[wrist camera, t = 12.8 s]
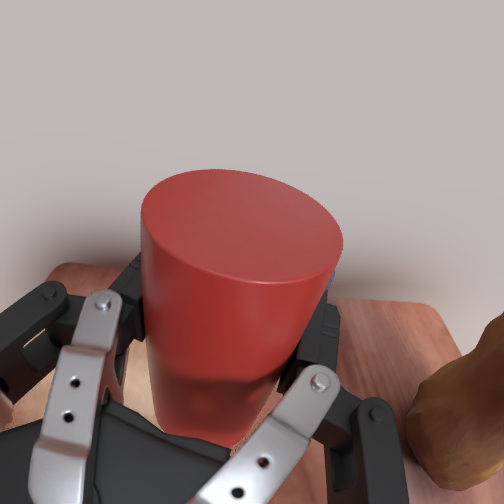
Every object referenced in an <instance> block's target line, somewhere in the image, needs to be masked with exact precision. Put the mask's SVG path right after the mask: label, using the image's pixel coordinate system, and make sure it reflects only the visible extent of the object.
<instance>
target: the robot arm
mask: <svg viewBox="0 0 504 504" xmlns="http://www.w3.org/2000/svg"><path fill="white" fill-rule="evenodd" d="M327 292H328V290H327V289H325V291H324V293H323V295H322V297H321V299H320V301H319V303H318V305H317V307H316V309H315V311H314V313H313V315H312V317H311V319H310V321H309V323H308V325H307V327H306V329H305V331H304V333H303V335H302V337H301V339H300V341H299V342H298V344H297V346H296V348H295V350H294V352H293V354H292V356H291V358H290V359H289V361H288V363H287V365H286V367H285V369H284V370H283V372H282V374H281V376H280V380H279V384H278V388H277V392H278V393H282V394H283V397H282V398H281V400H280V401H279V402H278V404H277V405H276V406H275V407H274V409H273V410H272V411H271V412H270V413H269V414H268V415H267V416H266V417H265V418H264V419H263V421H262V422H261V423H260V424H259V425H258V427H257V428H256V429H255V430H254V431H253V432H252V434H251V435H250V436H249V437H248V438H247V439H246V441H245V442H244V443H243V444H242V445H241V446H240V447H239V449H238V450H237V451H236V452H235V453H234V454H233V455H232V456H230V452H231V449H229V448H226V447H223V446H220V445H217V444H214V443H211V442H208V441H206V440H203V439H200V438H192V437H185V436H178V435H172V434H167V433H164V432H163V431H161V430H160V429H158V428H157V427H156V426H154V425H153V424H152V423H151V422H149V421H148V420H147V419H145V418H144V417H143V416H142V415H140V414H139V413H138V412H136V411H134V410H131V409H129V408H127V407H125V406H124V398H123V389H124V382H125V375H126V368H127V362H128V355H129V345H130V344H131V342H132V341H133V339H136V340H138V341H140V342H143V340H144V339H145V325H144V312H143V296H142V275H141V252H140V253H139V254H138V255H137V257H136V258H135V260H133V261H132V262H131V263H130V264H129V266H128V267H126V269H125V270H124V271H123V272H122V273H121V274H120V275H119V276H118V278H117V279H116V280H115V281H114V282H113V283H112V284H111V286H110V287H109V288H108V289H100V290H96V291H94V292H92V293H91V294H89V295H88V296H87V297H83V296H76V295H70V294H67V291H66V288H65V286H64V285H63V284H62V283H60V282H57V281H48V282H45V283H42V284H41V285H39V286H38V287H36V288H35V289H33V290H32V291H31V292H29V293H28V294H26V295H25V296H24V297H22V298H21V299H19V300H18V301H17V302H15V303H14V304H13V305H11V306H10V307H9V308H7V309H6V310H4V311H3V312H2V313H0V504H266V503H267V502H268V501H269V500H270V498H271V497H272V496H273V494H274V493H275V492H276V491H277V489H278V488H279V487H280V485H281V484H282V483H283V481H284V480H285V479H286V477H287V476H288V475H289V473H290V472H291V471H292V469H293V468H294V466H295V465H296V464H297V462H298V461H299V459H300V458H301V456H302V455H303V453H304V452H305V451H306V449H307V447H308V446H309V444H310V442H311V440H310V439H311V438H313V439H315V440H316V441H318V442H320V443H322V444H323V445H324V454H325V468H326V483H327V501H328V504H409V497H408V490H407V483H406V476H405V470H404V464H403V458H402V452H401V447H400V441H399V436H398V431H397V426H396V421H395V417H394V413H393V410H392V408H391V407H390V405H389V404H388V403H387V402H386V401H384V400H382V399H380V398H377V397H370V398H367V399H365V400H363V401H362V400H361V399H359V398H357V397H355V396H354V395H352V394H350V393H349V392H347V391H346V390H345V389H344V388H343V387H342V386H341V384H340V381H339V378H338V377H337V375H336V365H337V355H338V344H339V339H338V338H339V331H340V330H339V328H340V315H339V312H338V310H337V307H336V306H334V305H330V304H327ZM44 328H45V331H44V332H43V333H41V334H40V335H39V336H38V337H36V338H35V339H34V340H33V341H31V342H30V343H29V344H28V345H26V346H25V347H24V348H23V346H24V345H25V344H26V343H27V342H28V341H29V340H31V339H32V338H33V337H34V336H36V335H37V334H38V333H39V332H41V331H42V330H43V329H44ZM22 348H23V349H22ZM55 367H56V369H55V373H54V376H53V380H52V384H51V388H50V392H49V396H48V400H47V404H46V409H45V413H44V418H42V419H39V420H37V421H34V422H31V423H28V424H25V425H22V426H19V427H15V428H12V429H9V430H6V431H4V428H5V425H6V424H9V423H11V422H12V420H13V414H12V413H13V405H14V404H15V403H16V402H17V401H18V400H20V399H21V398H22V397H23V396H24V395H25V394H26V393H27V392H28V391H30V390H31V389H32V388H33V387H34V386H35V385H36V384H37V383H38V382H40V381H41V380H42V379H43V378H44V377H45V376H46V375H47V374H49V373H50V372H51V371H52V370H53V369H54V368H55Z"/></svg>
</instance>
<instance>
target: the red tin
mask: <svg viewBox="0 0 504 504" xmlns="http://www.w3.org/2000/svg"><path fill="white" fill-rule="evenodd" d="M342 250H343V237H342V233H341V230H340V227H339V225H338V224H337V222H336V221H335V219H334V218H333V217H332V215H331V214H330V213H329V212H328V211H327V210H326V209H325V208H324V207H323V206H322V205H321V204H319V203H318V202H317V201H316V200H314V199H313V198H311V197H310V196H308V195H307V194H305V193H303V192H302V191H300V190H298V189H296V188H294V187H292V186H289V185H287V184H285V183H282V182H280V181H277V180H274V179H271V178H268V177H265V176H261V175H257V174H253V173H248V172H242V171H235V170H223V169H209V170H196V171H190V172H184V173H181V174H177V175H174V176H172V177H169V178H167V179H165V180H163V181H161V182H159V183H158V184H157V185H155V186H154V187H153V188H152V189H151V190H150V191H149V192H148V193H147V195H146V196H145V198H144V200H143V203H142V207H141V275H142V296H143V312H144V325H145V337H146V348H147V357H148V366H149V375H150V383H151V390H152V397H153V404H154V410H155V415H156V418H157V421H158V423H159V425H160V426H161V428H162V429H163V431H164V432H165V433H167V434H172V435H178V436H185V437H192V438H200V439H203V440H206V441H208V442H211V443H214V444H217V445H220V446H223V447H226V448H228V447H231V446H232V445H234V444H236V443H237V442H239V441H240V440H241V439H242V438H243V437H244V436H245V435H246V434H247V432H248V431H249V429H250V428H251V426H252V424H253V423H254V421H255V419H256V418H257V416H258V414H259V413H260V411H261V409H262V407H263V406H264V404H265V402H266V401H267V399H268V397H269V395H270V394H271V392H272V390H273V388H274V387H275V385H276V383H277V381H278V379H279V378H280V376H281V374H282V372H283V370H284V369H285V367H286V365H287V363H288V361H289V359H290V358H291V356H292V354H293V352H294V350H295V348H296V346H297V344H298V342H299V341H300V339H301V337H302V335H303V333H304V331H305V329H306V327H307V325H308V323H309V321H310V319H311V317H312V315H313V313H314V311H315V309H316V307H317V305H318V303H319V301H320V299H321V297H322V295H323V293H324V291H325V289H326V286H327V284H328V282H329V280H330V278H331V276H332V274H333V271H334V269H335V267H336V265H337V263H338V261H339V258H340V256H341V253H342Z"/></svg>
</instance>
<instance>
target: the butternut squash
mask: <svg viewBox="0 0 504 504" xmlns="http://www.w3.org/2000/svg"><path fill="white" fill-rule="evenodd" d="M405 433H406V437H407V440H408V442H409V444H410V447H411V449H412V451H413V453H414V455H415V457H416V459H417V461H418V462H419V464H420V465H421V466H422V467H423V469H424V470H425V471H426V472H427V474H428V475H429V476H430V477H431V479H432V480H433V481H434V482H435V483H436V484H437V485H438V486H439V487H441V488H443V489H448V490H454V491H463V490H466V489H468V488H470V487H472V486H475V485H477V484H479V483H482V482H484V481H486V480H487V479H488V478H490V477H491V476H492V475H494V474H495V473H496V472H497V471H498V470H500V469H501V468H502V467H503V465H504V312H503V313H502V314H501V315H500V316H498V317H497V318H495V319H493V320H492V321H491V322H490V323H489V324H488V325H487V326H486V328H485V330H484V332H483V334H482V336H481V338H480V340H479V342H478V344H477V346H476V348H475V349H474V350H473V351H471V352H470V353H469V354H467V355H465V356H463V357H460V358H458V359H456V360H454V361H452V362H450V363H448V364H446V365H445V366H443V367H441V368H440V369H439V370H438V371H437V372H435V373H434V374H433V375H432V376H430V377H429V378H428V379H427V380H425V381H423V382H422V383H421V384H420V386H419V389H418V392H417V395H416V397H415V399H414V401H413V403H412V405H411V407H410V410H409V412H408V414H407V416H406V426H405Z"/></svg>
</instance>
